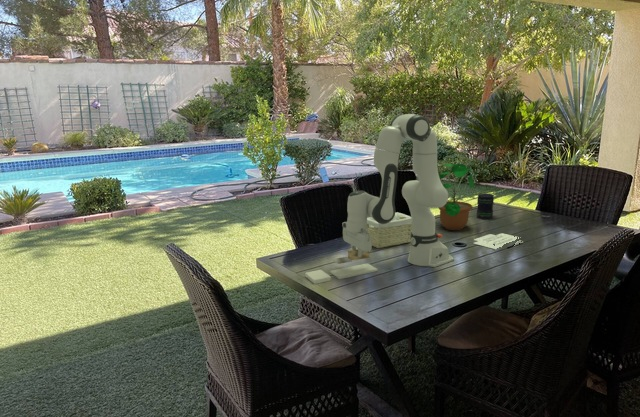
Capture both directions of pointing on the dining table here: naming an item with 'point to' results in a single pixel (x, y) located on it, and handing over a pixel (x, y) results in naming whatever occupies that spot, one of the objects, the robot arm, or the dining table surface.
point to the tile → (317, 276)
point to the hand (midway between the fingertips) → (356, 255)
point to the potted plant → (455, 211)
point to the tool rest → (353, 271)
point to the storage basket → (390, 231)
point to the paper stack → (496, 240)
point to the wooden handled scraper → (351, 257)
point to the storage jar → (485, 206)
